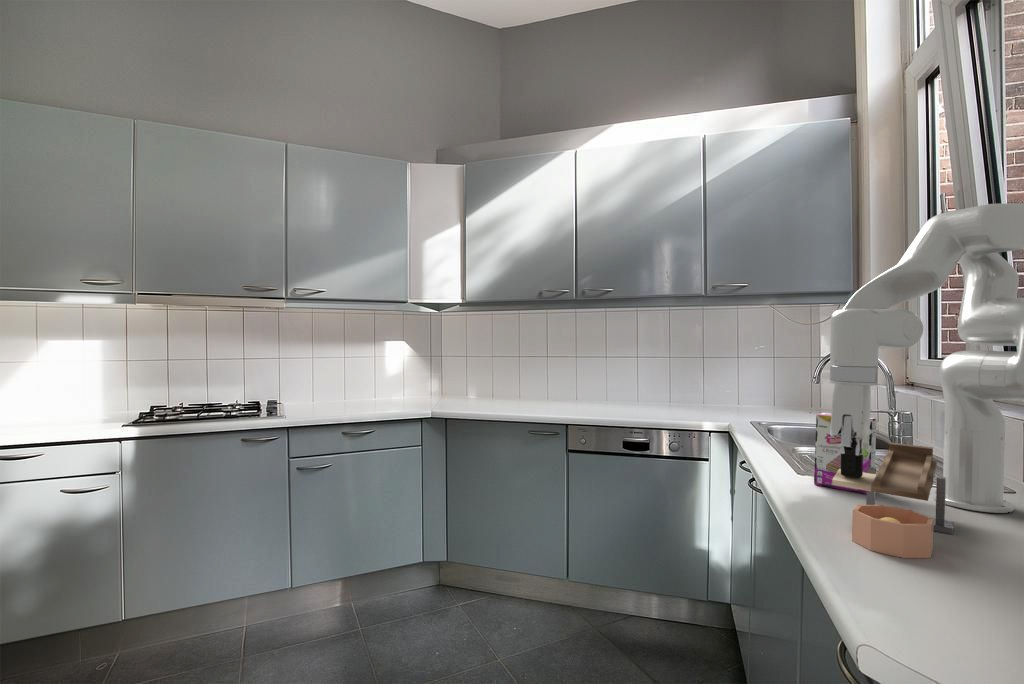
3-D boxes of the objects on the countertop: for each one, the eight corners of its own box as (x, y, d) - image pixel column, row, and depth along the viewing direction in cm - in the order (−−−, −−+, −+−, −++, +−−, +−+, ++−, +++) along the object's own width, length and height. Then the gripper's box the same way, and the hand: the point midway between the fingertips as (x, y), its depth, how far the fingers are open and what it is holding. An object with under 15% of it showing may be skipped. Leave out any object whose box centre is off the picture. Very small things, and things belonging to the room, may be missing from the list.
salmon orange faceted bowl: (860, 529, 95) (860, 501, 95) (934, 545, 88) (935, 514, 88) (848, 545, 87) (849, 514, 87) (928, 563, 81) (929, 530, 81)
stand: (861, 510, 107) (862, 464, 107) (953, 527, 97) (955, 477, 97) (857, 515, 103) (858, 468, 103) (952, 534, 94) (953, 482, 94)
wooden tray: (851, 470, 114) (851, 437, 113) (936, 482, 105) (936, 447, 104) (832, 502, 101) (831, 466, 100) (927, 520, 91) (928, 480, 90)
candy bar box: (813, 485, 125) (814, 413, 125) (819, 481, 129) (820, 412, 129) (870, 495, 117) (872, 419, 117) (875, 491, 121) (877, 417, 121)
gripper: (838, 373, 108) (836, 465, 108) (820, 376, 97) (818, 479, 97) (884, 375, 103) (882, 472, 103) (870, 379, 92) (868, 487, 92)
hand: (851, 475), depth 100 cm, fingers closed
